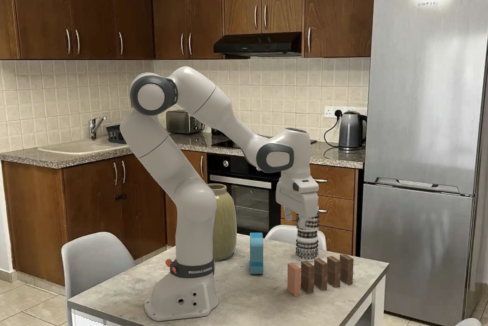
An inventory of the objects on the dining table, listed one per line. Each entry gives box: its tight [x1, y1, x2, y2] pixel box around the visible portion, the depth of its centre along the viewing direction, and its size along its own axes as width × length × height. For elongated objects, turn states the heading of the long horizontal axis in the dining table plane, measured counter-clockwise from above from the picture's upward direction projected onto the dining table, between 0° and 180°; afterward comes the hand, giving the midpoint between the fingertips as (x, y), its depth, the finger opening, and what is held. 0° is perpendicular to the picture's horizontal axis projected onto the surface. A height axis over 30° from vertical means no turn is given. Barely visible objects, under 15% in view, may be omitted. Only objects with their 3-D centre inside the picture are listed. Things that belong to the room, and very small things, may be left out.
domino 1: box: [286, 262, 301, 297], centre depth 157 cm, size 2×5×9 cm, turn 23°
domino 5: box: [339, 253, 355, 286], centre depth 165 cm, size 2×5×9 cm, turn 23°
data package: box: [249, 232, 264, 275], centre depth 176 cm, size 12×4×12 cm, turn 0°
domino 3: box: [313, 257, 328, 291], centre depth 161 cm, size 2×5×9 cm, turn 23°
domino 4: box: [326, 255, 341, 289], centre depth 163 cm, size 2×5×9 cm, turn 24°
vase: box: [206, 183, 238, 262], centre depth 188 cm, size 17×17×27 cm
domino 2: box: [300, 261, 315, 294], centre depth 159 cm, size 2×5×9 cm, turn 23°
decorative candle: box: [295, 196, 321, 263], centre depth 185 cm, size 9×9×25 cm
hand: (294, 223), depth 154 cm, fingers open, 7 cm apart
